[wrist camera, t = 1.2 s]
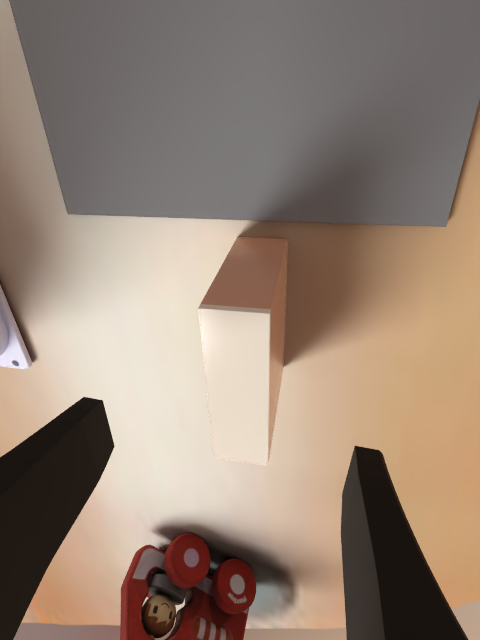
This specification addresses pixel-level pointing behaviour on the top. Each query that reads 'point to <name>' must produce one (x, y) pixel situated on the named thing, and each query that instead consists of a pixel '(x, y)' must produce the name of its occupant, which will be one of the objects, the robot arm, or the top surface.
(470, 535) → the top surface
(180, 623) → the toy fire truck
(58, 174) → the mat
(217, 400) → the block
